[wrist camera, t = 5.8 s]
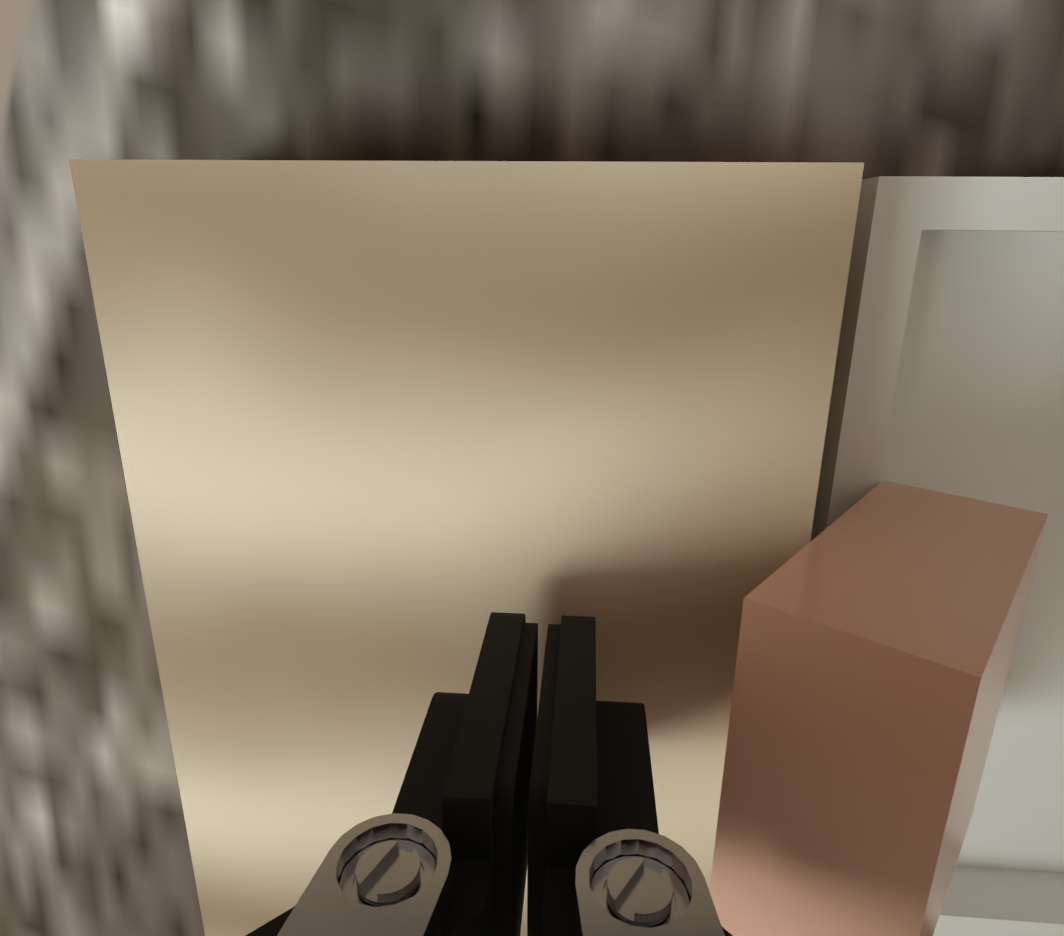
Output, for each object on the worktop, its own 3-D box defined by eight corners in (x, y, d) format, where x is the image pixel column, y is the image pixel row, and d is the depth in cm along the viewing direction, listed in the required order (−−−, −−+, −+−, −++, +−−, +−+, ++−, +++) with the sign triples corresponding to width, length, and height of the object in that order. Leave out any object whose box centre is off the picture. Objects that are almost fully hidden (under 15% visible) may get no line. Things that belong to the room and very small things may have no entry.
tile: (835, 753, 15) (973, 813, 13) (699, 964, 10) (882, 1090, 9) (882, 480, 13) (1048, 513, 12) (743, 597, 9) (981, 677, 7)
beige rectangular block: (709, 860, 18) (741, 1024, 14) (288, 829, 19) (212, 978, 15) (785, 183, 13) (864, 162, 9) (210, 180, 14) (69, 159, 10)
